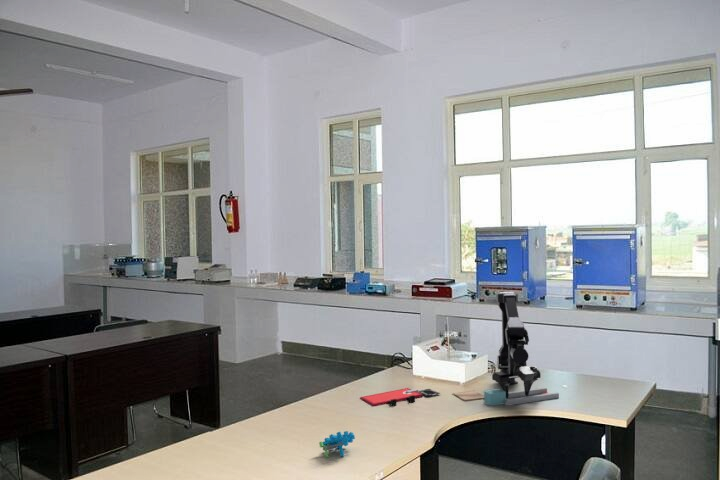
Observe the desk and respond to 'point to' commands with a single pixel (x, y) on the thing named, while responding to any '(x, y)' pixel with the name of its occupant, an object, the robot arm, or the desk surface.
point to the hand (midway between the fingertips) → (516, 397)
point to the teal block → (494, 397)
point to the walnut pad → (469, 395)
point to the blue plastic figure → (337, 442)
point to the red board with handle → (397, 396)
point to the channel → (542, 391)
